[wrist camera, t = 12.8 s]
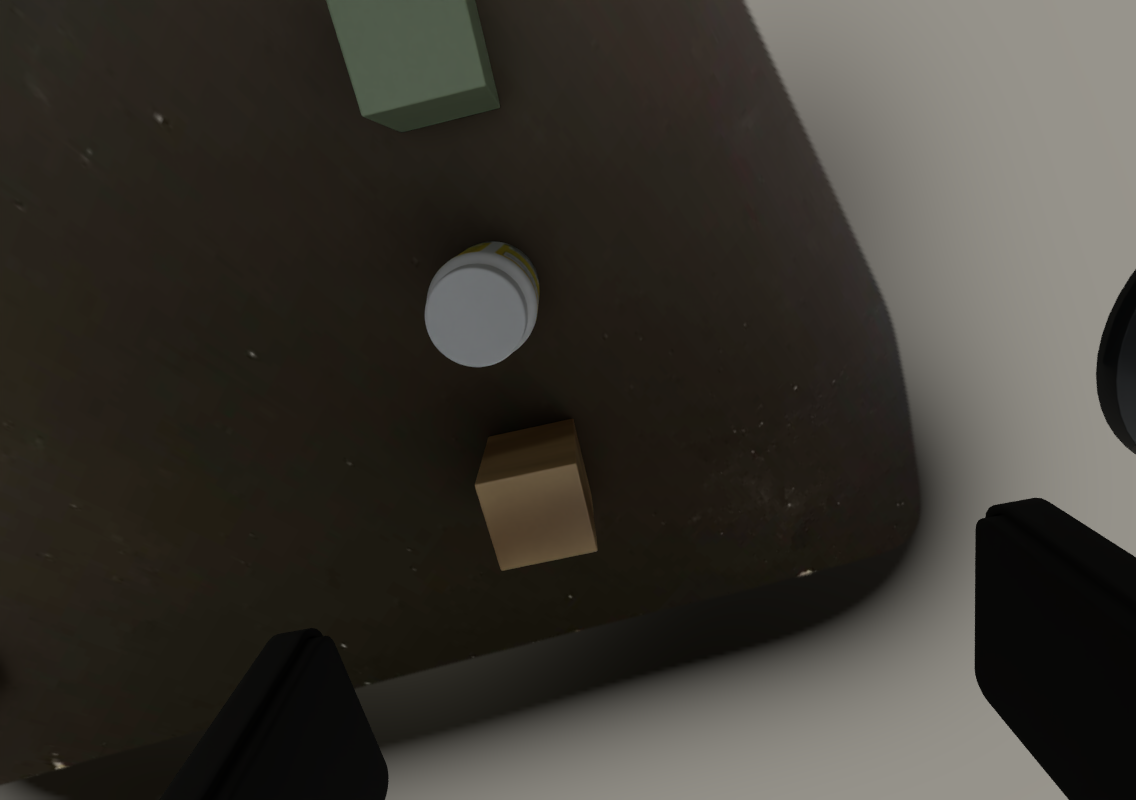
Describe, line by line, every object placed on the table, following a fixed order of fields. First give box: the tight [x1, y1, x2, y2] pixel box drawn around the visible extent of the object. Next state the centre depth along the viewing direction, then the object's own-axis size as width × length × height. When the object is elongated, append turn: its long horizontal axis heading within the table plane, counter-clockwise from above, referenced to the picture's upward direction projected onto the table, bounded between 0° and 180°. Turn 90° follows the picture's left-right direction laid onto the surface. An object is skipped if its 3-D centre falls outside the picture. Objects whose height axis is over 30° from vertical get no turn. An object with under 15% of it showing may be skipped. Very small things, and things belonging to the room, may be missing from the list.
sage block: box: [326, 0, 500, 132], centre depth 25 cm, size 5×5×6 cm
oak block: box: [475, 419, 598, 571], centre depth 31 cm, size 5×5×6 cm
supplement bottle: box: [425, 242, 540, 367], centre depth 27 cm, size 5×5×8 cm
